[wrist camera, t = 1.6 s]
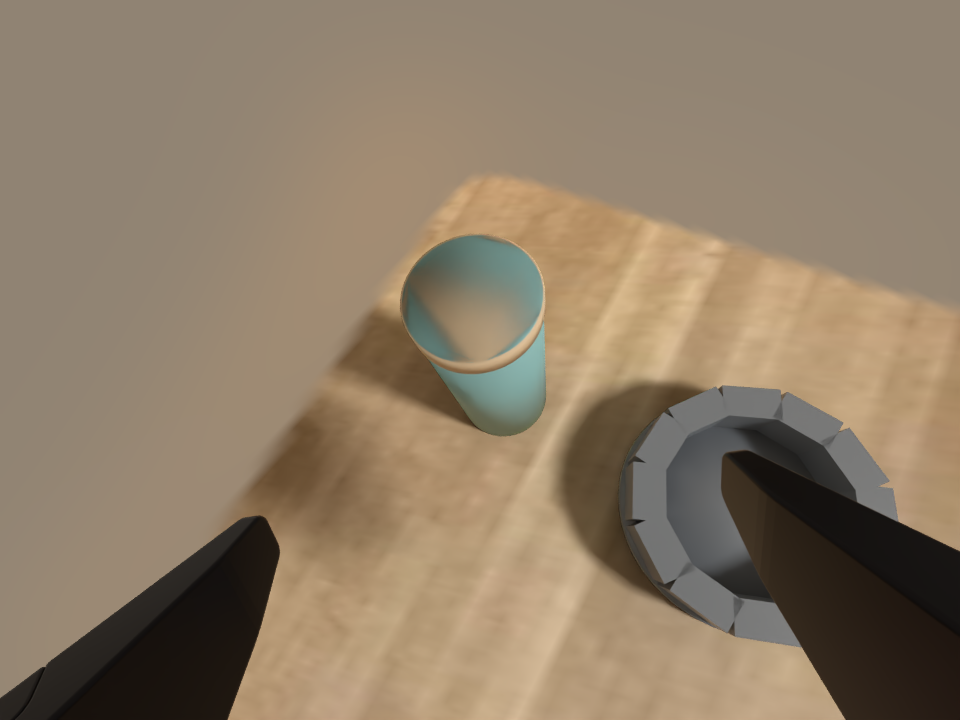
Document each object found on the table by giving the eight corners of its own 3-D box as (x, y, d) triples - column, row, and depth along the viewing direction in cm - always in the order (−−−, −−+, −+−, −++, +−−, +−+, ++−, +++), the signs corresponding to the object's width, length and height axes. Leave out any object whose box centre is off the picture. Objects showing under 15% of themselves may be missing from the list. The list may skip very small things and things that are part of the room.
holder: (876, 655, 17) (931, 675, 14) (615, 613, 18) (624, 625, 16) (842, 409, 20) (882, 392, 18) (620, 391, 22) (629, 373, 19)
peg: (543, 441, 21) (538, 370, 12) (456, 432, 22) (388, 358, 13) (550, 357, 23) (550, 235, 13) (467, 352, 23) (413, 232, 14)
